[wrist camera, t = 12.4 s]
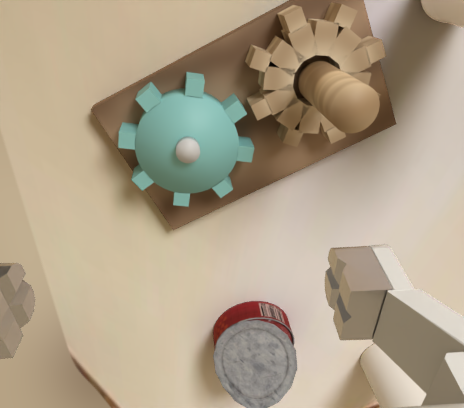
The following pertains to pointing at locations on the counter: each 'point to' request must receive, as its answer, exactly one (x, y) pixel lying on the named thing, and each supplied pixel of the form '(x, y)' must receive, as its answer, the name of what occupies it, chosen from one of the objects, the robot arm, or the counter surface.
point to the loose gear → (317, 76)
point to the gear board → (244, 85)
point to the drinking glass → (445, 11)
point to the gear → (186, 140)
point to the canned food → (255, 353)
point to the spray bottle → (389, 380)
